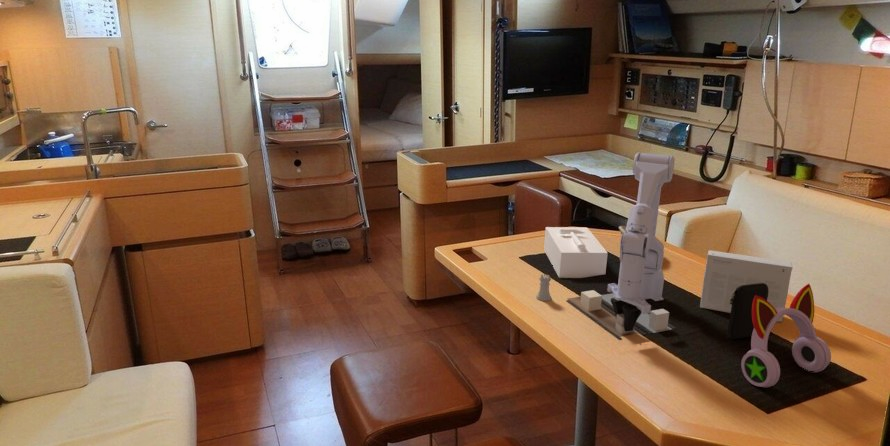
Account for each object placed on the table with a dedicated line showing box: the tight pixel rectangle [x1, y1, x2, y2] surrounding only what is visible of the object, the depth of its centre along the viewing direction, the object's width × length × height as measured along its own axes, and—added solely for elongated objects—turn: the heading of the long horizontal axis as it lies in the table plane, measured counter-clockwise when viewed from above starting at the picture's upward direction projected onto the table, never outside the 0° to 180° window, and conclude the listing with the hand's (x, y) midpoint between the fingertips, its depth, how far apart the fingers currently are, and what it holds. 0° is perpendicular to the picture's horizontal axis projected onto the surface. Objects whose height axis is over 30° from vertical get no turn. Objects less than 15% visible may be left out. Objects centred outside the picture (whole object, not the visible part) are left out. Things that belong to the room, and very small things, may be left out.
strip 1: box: [567, 295, 640, 338], centre depth 170 cm, size 6×24×6 cm, turn 22°
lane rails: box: [565, 299, 677, 341], centre depth 171 cm, size 18×24×1 cm
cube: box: [580, 289, 603, 311], centre depth 174 cm, size 4×4×4 cm
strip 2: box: [601, 292, 672, 334], centre depth 172 cm, size 6×24×6 cm, turn 22°
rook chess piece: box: [535, 273, 552, 302], centre depth 179 cm, size 4×4×8 cm
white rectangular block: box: [543, 226, 608, 279], centre depth 208 cm, size 14×25×11 cm, turn 2°
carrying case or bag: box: [726, 283, 769, 340], centre depth 160 cm, size 11×3×15 cm, turn 106°
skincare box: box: [699, 249, 793, 323], centre depth 175 cm, size 21×6×16 cm, turn 65°
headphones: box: [740, 283, 832, 388], centre depth 142 cm, size 20×10×20 cm, turn 115°
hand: (624, 327), depth 161 cm, fingers closed on strip 1, 2 cm apart
